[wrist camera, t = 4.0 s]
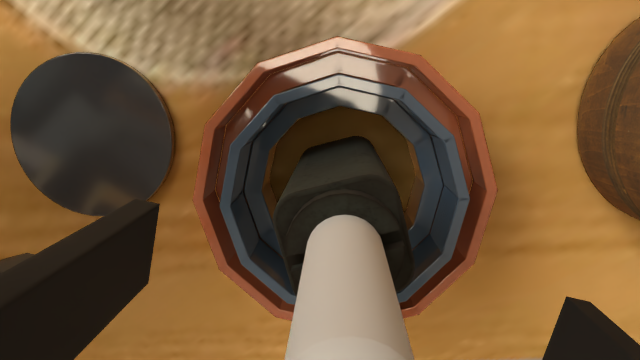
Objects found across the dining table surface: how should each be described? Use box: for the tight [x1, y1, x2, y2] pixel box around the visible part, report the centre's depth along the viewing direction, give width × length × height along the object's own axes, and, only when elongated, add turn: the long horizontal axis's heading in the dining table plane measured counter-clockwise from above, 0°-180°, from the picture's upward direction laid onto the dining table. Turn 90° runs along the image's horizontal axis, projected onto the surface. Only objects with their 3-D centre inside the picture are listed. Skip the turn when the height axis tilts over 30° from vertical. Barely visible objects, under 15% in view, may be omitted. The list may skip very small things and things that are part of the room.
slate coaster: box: [11, 52, 175, 216], centre depth 29 cm, size 11×11×1 cm
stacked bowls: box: [193, 36, 498, 321], centre depth 27 cm, size 17×17×6 cm
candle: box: [273, 136, 415, 360], centre depth 17 cm, size 5×5×25 cm
